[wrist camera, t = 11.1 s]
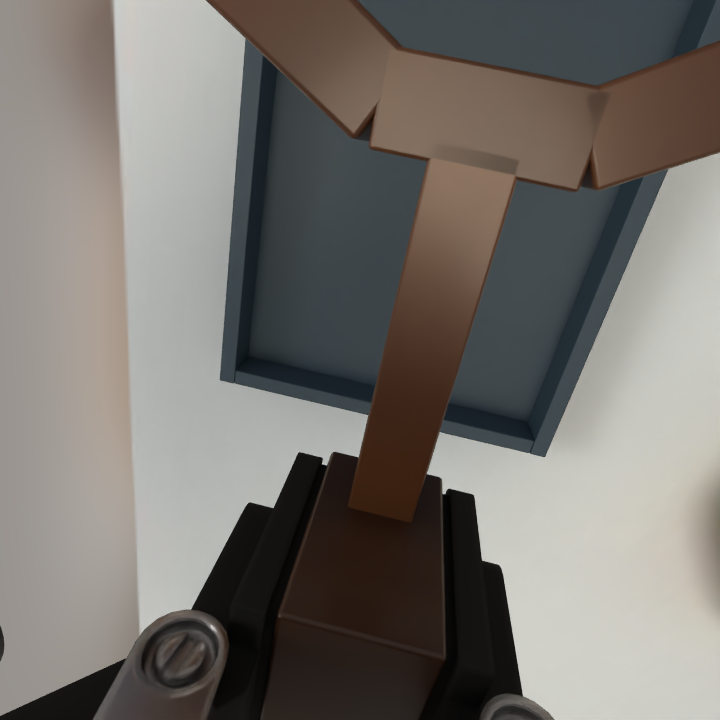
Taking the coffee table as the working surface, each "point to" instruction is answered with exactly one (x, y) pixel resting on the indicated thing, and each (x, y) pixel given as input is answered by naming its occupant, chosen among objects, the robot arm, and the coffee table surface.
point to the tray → (396, 213)
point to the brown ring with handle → (433, 315)
